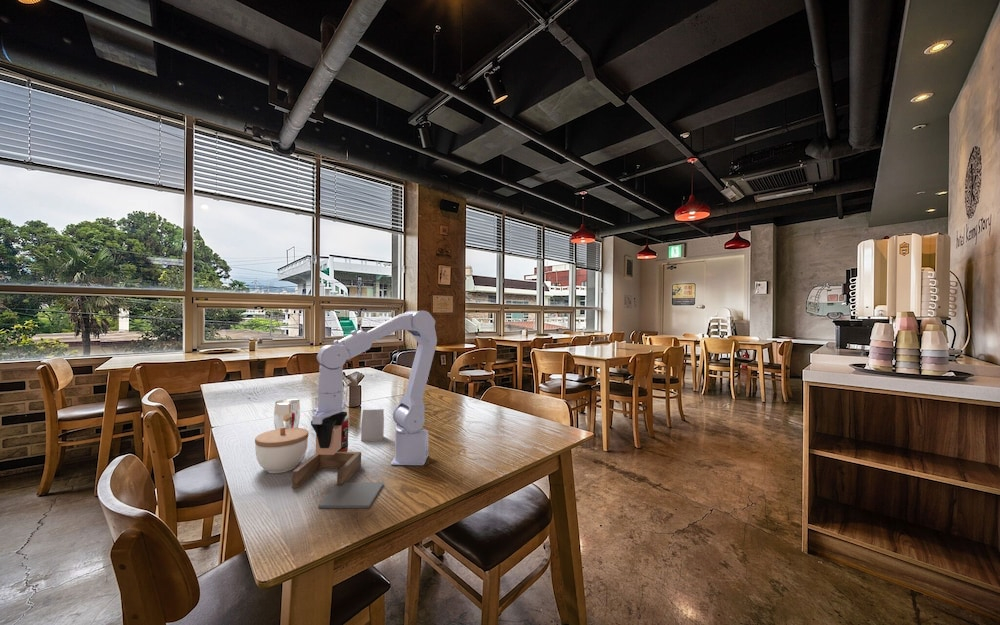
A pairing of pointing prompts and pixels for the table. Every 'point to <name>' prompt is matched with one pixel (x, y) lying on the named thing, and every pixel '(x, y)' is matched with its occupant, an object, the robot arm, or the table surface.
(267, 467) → the lidded bowl
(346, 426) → the canned food
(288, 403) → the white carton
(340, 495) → the coaster
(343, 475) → the brown piece
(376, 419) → the grey rectangular block
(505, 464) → the table surface
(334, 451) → the block
